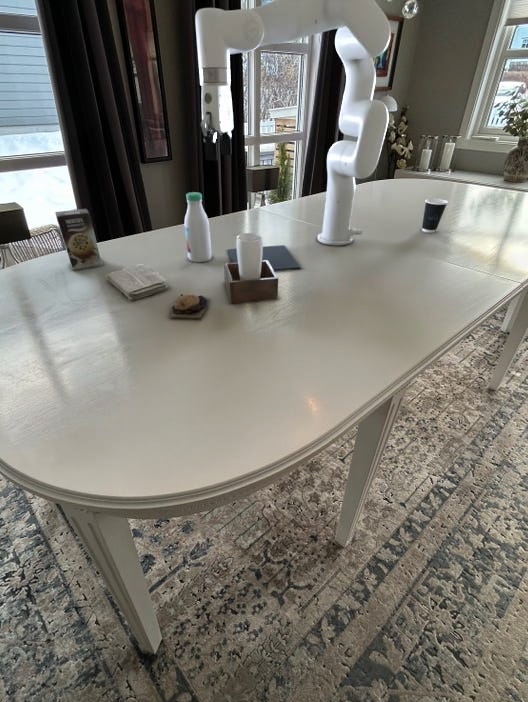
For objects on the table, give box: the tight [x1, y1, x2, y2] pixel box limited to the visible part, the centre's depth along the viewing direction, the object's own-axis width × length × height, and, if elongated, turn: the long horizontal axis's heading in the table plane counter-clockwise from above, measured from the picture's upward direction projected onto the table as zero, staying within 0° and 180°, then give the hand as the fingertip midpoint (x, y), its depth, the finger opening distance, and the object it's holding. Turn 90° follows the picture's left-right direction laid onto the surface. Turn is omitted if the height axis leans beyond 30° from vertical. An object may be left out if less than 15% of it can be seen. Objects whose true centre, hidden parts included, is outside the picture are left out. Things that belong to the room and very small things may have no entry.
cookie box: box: [54, 208, 103, 271], centre depth 113 cm, size 9×6×16 cm
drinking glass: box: [236, 232, 264, 280], centre depth 98 cm, size 7×7×15 cm
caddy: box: [223, 260, 279, 304], centre depth 100 cm, size 13×13×6 cm
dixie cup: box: [421, 198, 449, 234], centre depth 140 cm, size 8×8×11 cm
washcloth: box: [106, 263, 169, 301], centre depth 104 cm, size 12×18×3 cm, turn 39°
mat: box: [227, 244, 301, 272], centre depth 120 cm, size 20×20×1 cm
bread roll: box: [170, 293, 208, 320], centre depth 93 cm, size 11×8×4 cm
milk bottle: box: [184, 191, 212, 263], centre depth 115 cm, size 8×8×20 cm
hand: (219, 157), depth 100 cm, fingers open, 9 cm apart
